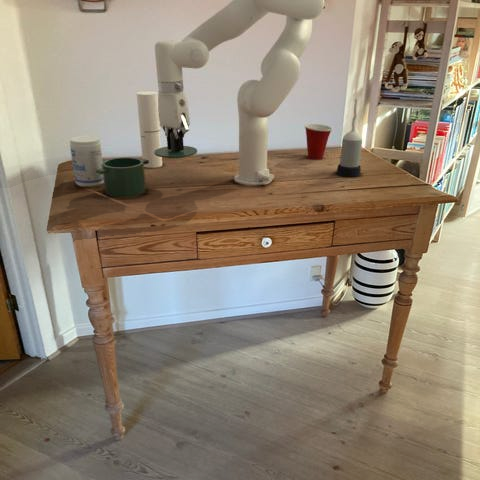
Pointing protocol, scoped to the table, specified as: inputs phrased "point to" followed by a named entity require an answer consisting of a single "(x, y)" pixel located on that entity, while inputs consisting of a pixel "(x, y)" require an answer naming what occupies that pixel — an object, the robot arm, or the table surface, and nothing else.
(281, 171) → the table surface
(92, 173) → the supplement tub
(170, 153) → the lid
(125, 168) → the green cooking pot
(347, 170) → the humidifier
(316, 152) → the plastic cup
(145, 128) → the cylindrical container
